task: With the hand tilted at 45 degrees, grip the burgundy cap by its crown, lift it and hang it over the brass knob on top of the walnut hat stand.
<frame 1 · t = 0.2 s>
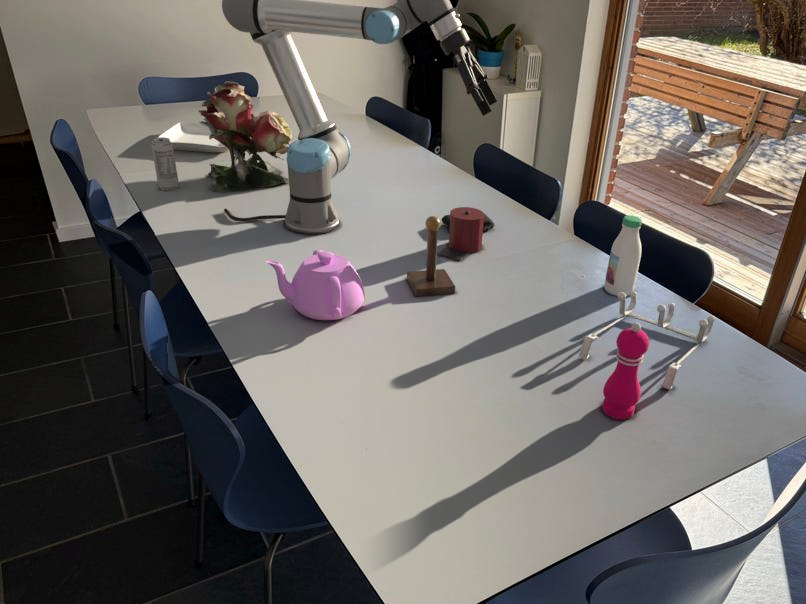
hand: (490, 108, 197), 36 cm above the table, tool tilted 35°, fingers open, 13 cm apart
pepper mill: (617, 411, 144), on the table
rose bouquet: (247, 177, 241), on the table
over door rack: (647, 349, 165), on the table
carrying case: (468, 228, 217), on the table
energy drink can: (169, 187, 227), on the table
square plate: (204, 144, 267), on the table
milk bottle: (618, 291, 189), on the table
hat stand: (430, 285, 183), on the table
cap: (465, 246, 205), on the table
teapot: (318, 309, 169), on the table
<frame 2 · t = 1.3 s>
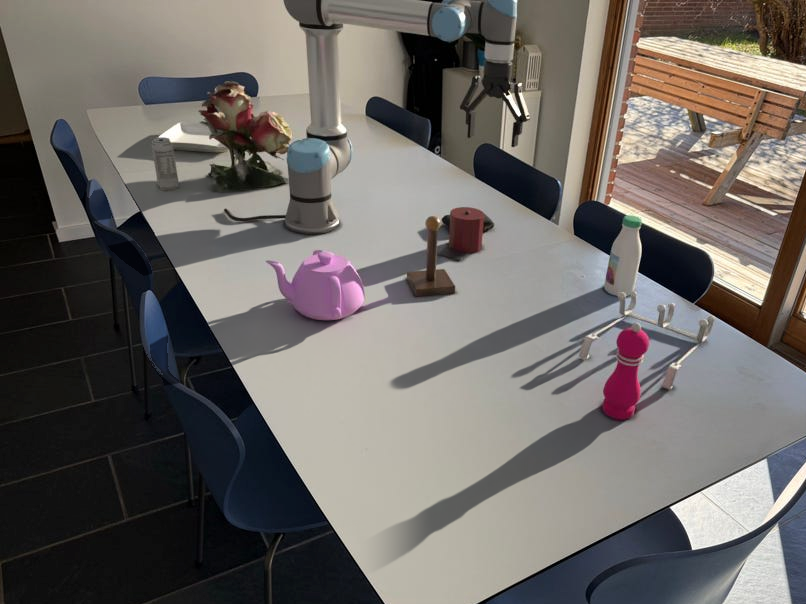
hand: (492, 141, 201), 27 cm above the table, tool pointing down, fingers open, 13 cm apart
nothing on the table moved.
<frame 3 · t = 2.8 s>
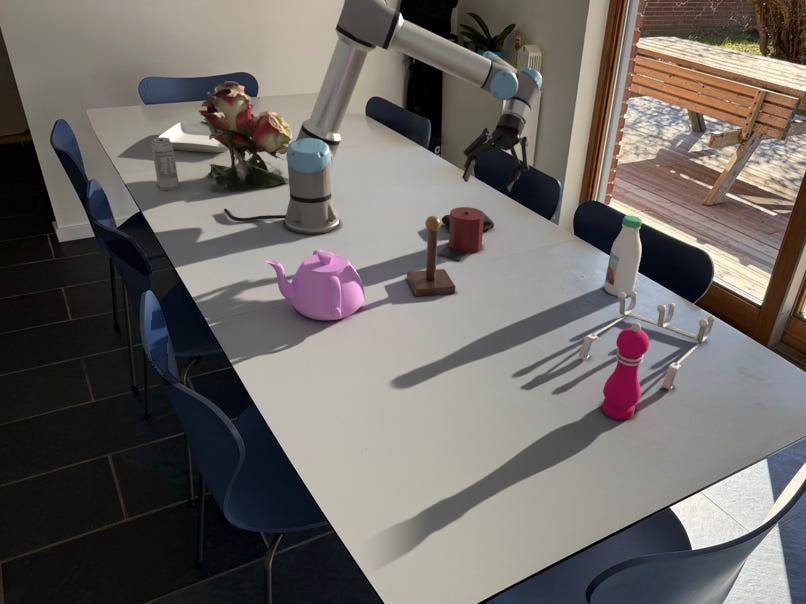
hand: (485, 184, 205), 15 cm above the table, tool tilted 45°, fingers open, 13 cm apart
nothing on the table moved.
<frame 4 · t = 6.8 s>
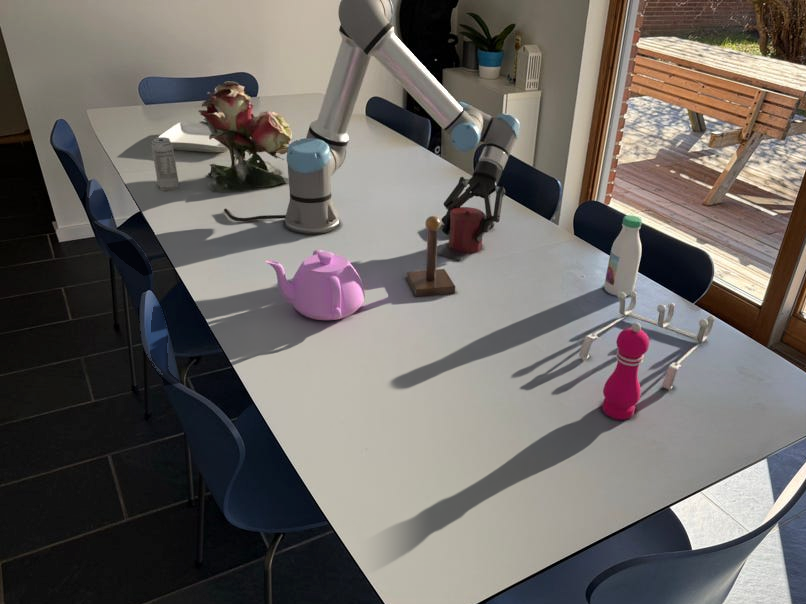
hand: (460, 236, 201), 4 cm above the table, tool tilted 45°, fingers closed on cap, 9 cm apart
cap: (465, 246, 205), on the table, touching gripper
everything else where it was.
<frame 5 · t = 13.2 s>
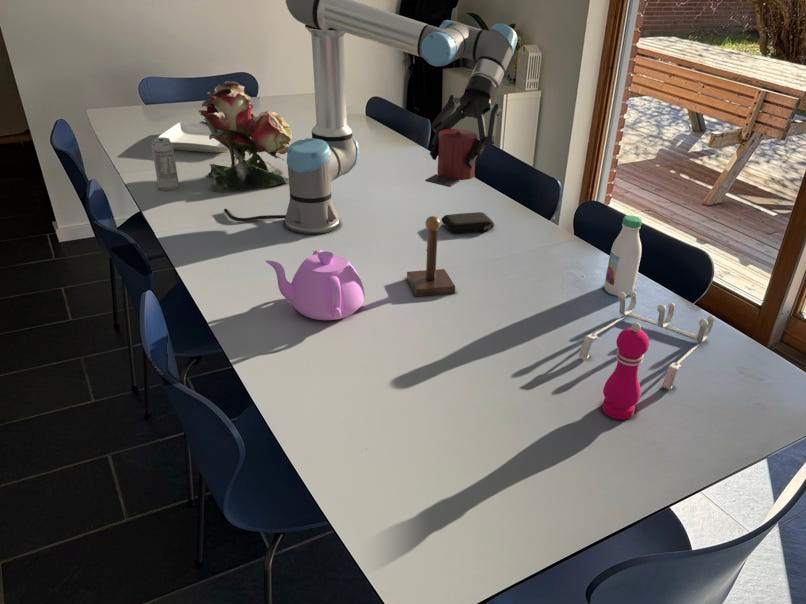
hand: (450, 161, 177), 29 cm above the table, tool tilted 45°, fingers closed on cap, 9 cm apart
cap: (455, 174, 182), point 25 cm above the table, touching gripper
everything else where it was.
when the fingers open (13 cm above the table, at t = 19.9 s): cap stays where it is, resting on hat stand.
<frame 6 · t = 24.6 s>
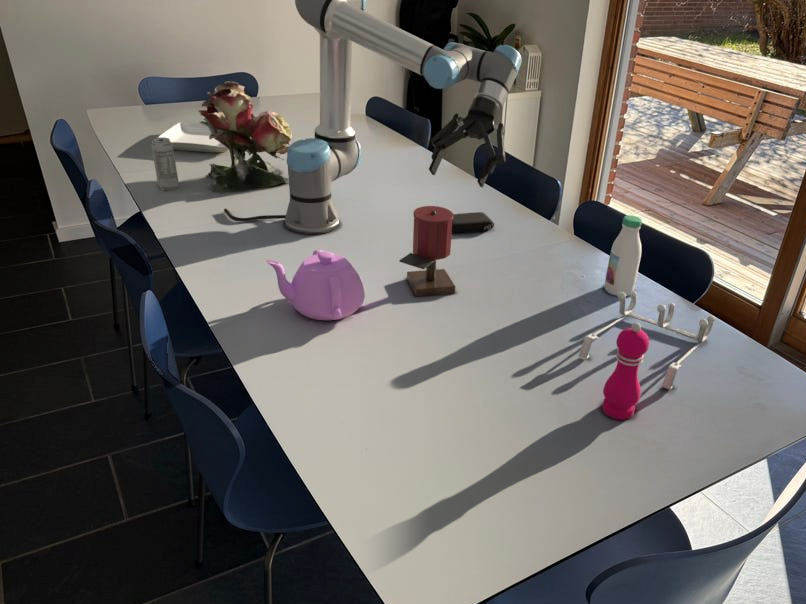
hand: (455, 178, 178), 25 cm above the table, tool tilted 45°, fingers open, 13 cm apart
cap: (431, 251, 178), point 9 cm above the table, touching hat stand
everything else where it was.
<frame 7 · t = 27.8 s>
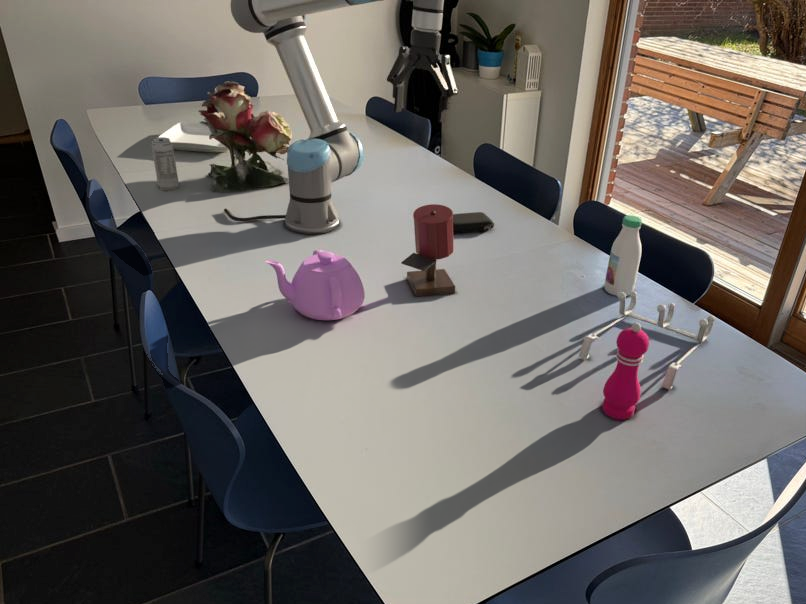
hand: (419, 116, 192), 33 cm above the table, tool pointing down, fingers open, 13 cm apart
cap: (434, 249, 179), point 10 cm above the table, tilted 8°, touching hat stand
everything else where it was.
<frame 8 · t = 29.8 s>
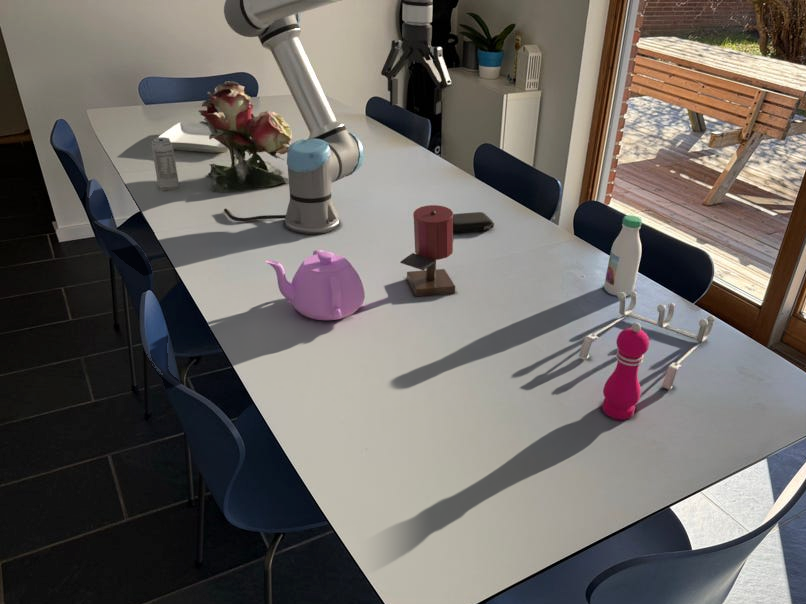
hand: (415, 109, 194), 35 cm above the table, tool pointing down, fingers open, 13 cm apart
nothing on the table moved.
at the end: cap 1.6 cm off-centre on the hat stand, point 9.6 cm above the hat stand's base; cap touching hat stand; the gripper is holding nothing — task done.
